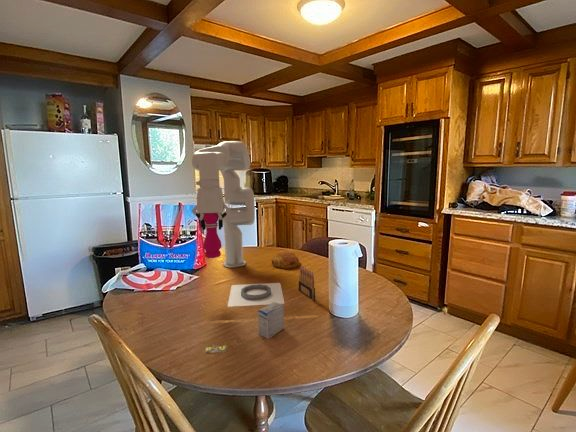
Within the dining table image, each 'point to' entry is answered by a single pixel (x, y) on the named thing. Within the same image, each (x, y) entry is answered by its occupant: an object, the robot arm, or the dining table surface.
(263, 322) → the medicine box
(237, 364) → the dining table surface
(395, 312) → the dining table surface
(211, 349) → the bearing assembly
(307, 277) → the ammunition clip
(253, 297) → the ring collar
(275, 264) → the brown rounded lump
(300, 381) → the dining table surface
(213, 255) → the pepper mill
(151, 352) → the dining table surface
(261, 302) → the seat board
